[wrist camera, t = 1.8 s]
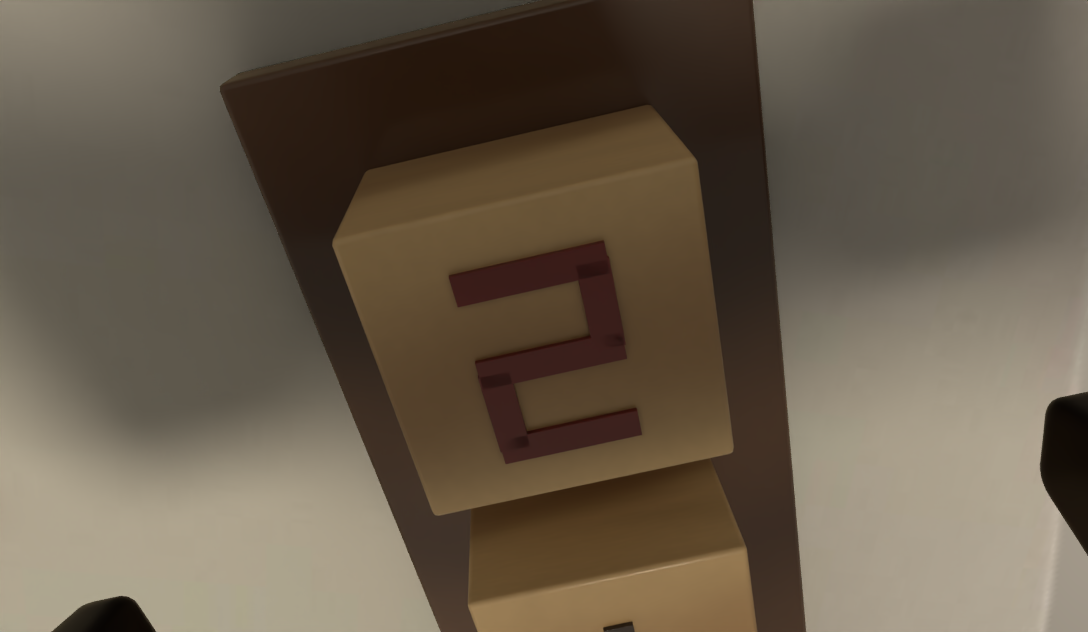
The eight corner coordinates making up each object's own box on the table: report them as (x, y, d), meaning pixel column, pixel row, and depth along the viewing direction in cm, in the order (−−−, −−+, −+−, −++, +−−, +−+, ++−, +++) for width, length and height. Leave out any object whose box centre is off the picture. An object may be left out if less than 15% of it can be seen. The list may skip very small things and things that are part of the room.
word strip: (235, 73, 12) (129, 140, 9) (731, -47, 12) (836, -28, 8) (520, 796, 22) (527, 974, 18) (805, 740, 21) (870, 910, 18)
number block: (363, 169, 12) (326, 244, 9) (651, 101, 12) (699, 158, 9) (443, 406, 14) (433, 523, 12) (689, 352, 14) (737, 458, 11)
